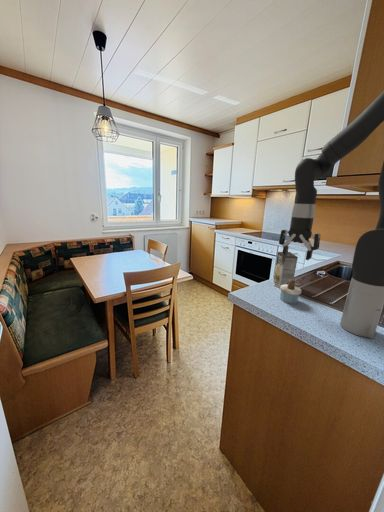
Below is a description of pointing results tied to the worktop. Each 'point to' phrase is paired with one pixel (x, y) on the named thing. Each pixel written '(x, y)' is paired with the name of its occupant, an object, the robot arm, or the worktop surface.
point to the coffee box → (284, 268)
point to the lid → (291, 288)
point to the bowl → (288, 298)
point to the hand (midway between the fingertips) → (295, 257)
